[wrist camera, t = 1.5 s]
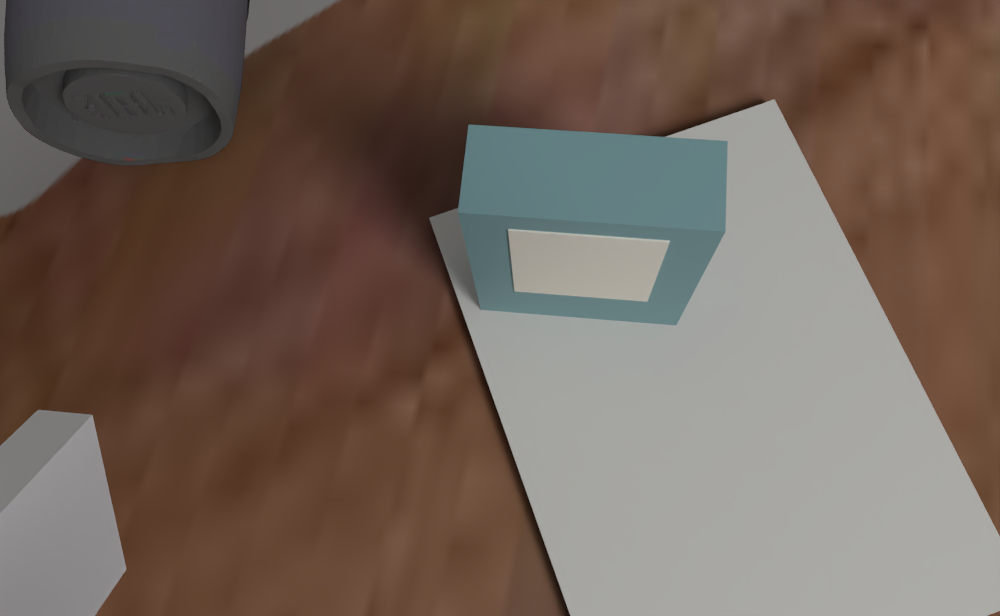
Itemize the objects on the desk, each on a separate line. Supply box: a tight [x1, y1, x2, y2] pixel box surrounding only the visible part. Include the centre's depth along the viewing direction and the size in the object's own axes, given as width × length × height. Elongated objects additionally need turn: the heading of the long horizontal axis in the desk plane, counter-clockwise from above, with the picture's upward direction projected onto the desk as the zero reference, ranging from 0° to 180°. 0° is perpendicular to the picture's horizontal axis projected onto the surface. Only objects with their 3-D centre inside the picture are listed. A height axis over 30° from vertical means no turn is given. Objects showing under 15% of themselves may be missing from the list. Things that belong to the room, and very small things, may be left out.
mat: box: [429, 100, 1000, 616], centre depth 35 cm, size 22×16×1 cm
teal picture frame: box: [458, 125, 728, 325], centre depth 31 cm, size 8×3×10 cm, turn 84°
